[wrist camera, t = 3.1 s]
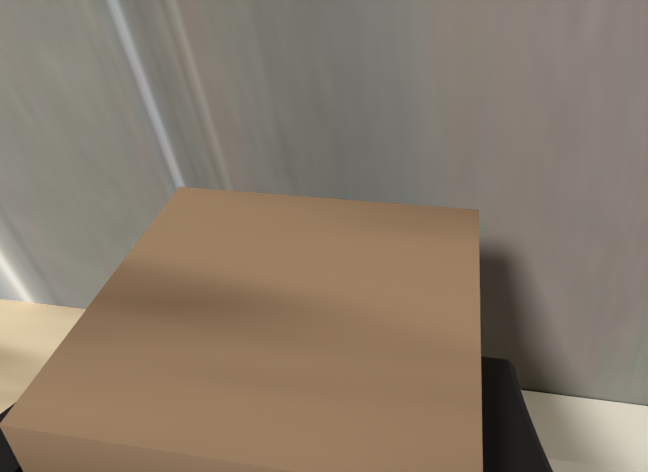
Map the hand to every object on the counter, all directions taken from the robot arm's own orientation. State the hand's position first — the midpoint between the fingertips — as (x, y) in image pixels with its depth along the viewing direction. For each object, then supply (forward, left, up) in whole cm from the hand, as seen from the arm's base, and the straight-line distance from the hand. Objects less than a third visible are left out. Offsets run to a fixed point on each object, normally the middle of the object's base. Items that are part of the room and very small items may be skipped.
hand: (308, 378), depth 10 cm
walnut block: (0, 0, -2) cm, 2 cm away
